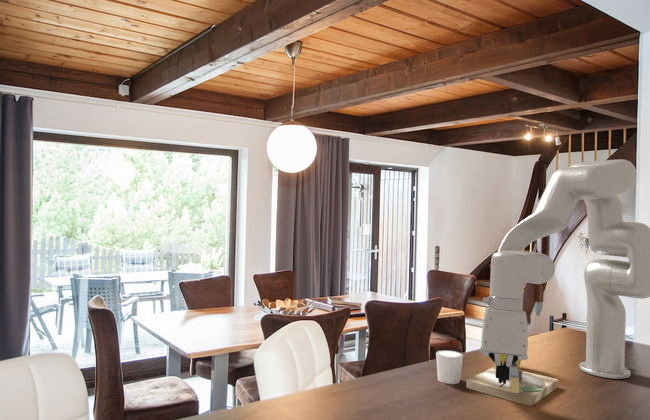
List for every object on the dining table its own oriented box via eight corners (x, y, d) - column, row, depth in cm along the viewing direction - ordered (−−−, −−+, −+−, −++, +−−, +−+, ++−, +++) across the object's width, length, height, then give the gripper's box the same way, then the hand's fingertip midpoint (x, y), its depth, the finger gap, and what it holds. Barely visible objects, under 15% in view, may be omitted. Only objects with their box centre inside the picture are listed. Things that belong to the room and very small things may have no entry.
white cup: (463, 386, 127) (464, 358, 127) (435, 383, 129) (436, 356, 129) (461, 377, 134) (462, 351, 134) (435, 374, 136) (435, 348, 136)
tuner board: (497, 372, 139) (497, 364, 139) (559, 387, 128) (559, 378, 128) (466, 388, 126) (466, 379, 126) (532, 406, 115) (532, 396, 115)
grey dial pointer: (503, 371, 132) (503, 358, 132) (521, 373, 131) (521, 360, 131) (504, 392, 117) (504, 377, 117) (524, 394, 115) (525, 380, 115)
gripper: (472, 303, 118) (469, 382, 118) (541, 310, 114) (538, 391, 113) (472, 299, 125) (469, 373, 125) (537, 305, 121) (534, 381, 120)
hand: (502, 381), depth 119 cm, fingers closed
